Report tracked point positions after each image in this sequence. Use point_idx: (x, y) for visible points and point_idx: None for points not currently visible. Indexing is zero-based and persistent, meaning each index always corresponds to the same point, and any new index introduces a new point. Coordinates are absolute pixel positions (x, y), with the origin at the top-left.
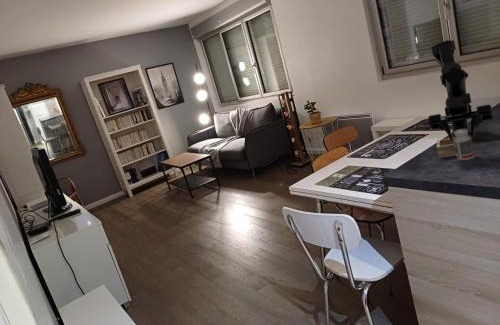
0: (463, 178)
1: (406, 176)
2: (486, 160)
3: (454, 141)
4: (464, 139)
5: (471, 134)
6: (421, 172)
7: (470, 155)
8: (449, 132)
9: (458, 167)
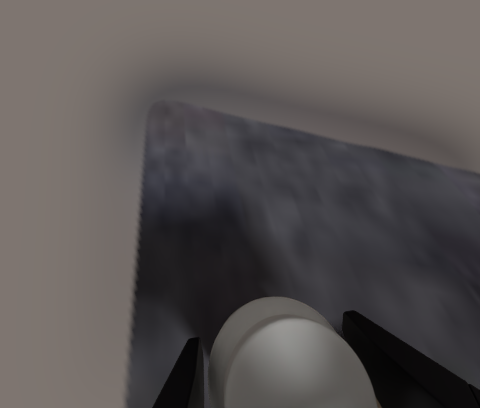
0: (228, 139)
1: (421, 174)
2: (167, 283)
3: (325, 321)
4: (249, 308)
5: (193, 354)
6: (386, 201)
7: (231, 314)
8: (419, 370)
9: (264, 226)
